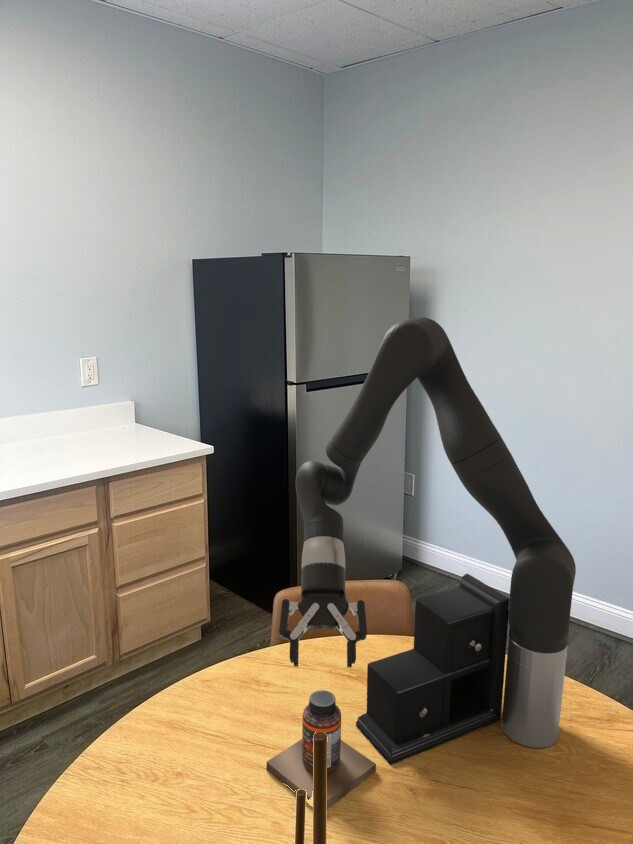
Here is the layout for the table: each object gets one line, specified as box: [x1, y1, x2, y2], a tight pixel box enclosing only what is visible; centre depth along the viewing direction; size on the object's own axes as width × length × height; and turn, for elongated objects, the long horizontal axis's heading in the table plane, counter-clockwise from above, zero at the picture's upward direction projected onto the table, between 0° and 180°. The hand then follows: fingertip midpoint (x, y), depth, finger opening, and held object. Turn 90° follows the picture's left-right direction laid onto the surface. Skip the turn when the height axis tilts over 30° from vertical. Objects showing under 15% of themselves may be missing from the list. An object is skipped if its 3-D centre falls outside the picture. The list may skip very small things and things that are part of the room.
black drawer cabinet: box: [355, 573, 510, 765], centre depth 112 cm, size 23×11×24 cm, turn 118°
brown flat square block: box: [265, 738, 377, 810], centre depth 103 cm, size 12×12×2 cm
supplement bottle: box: [301, 689, 342, 773], centre depth 102 cm, size 6×6×11 cm
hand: (322, 666), depth 106 cm, fingers open, 8 cm apart
